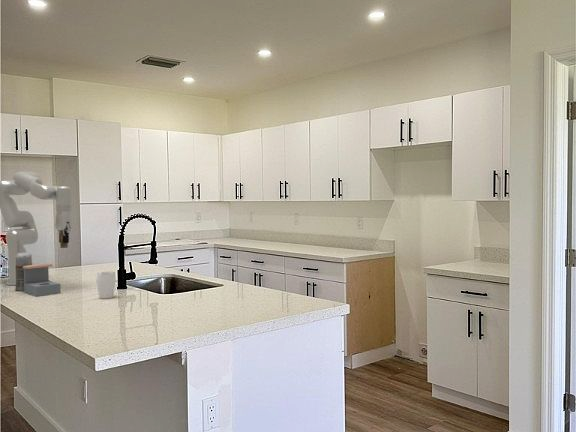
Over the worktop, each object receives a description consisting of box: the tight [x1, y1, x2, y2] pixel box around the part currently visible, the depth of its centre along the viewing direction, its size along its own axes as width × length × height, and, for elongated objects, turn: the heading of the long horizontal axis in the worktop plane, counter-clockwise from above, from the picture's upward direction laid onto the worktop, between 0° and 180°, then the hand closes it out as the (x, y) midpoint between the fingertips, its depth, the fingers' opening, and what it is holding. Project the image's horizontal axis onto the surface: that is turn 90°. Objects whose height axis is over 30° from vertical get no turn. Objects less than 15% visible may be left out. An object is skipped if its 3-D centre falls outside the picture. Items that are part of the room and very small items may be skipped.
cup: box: [95, 271, 117, 299], centre depth 255 cm, size 9×9×12 cm
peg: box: [59, 229, 69, 249], centre depth 280 cm, size 4×4×12 cm
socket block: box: [23, 263, 61, 298], centre depth 267 cm, size 16×13×14 cm
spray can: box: [15, 251, 33, 292], centre depth 276 cm, size 8×8×20 cm
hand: (64, 242), depth 280 cm, fingers closed on peg, 3 cm apart
